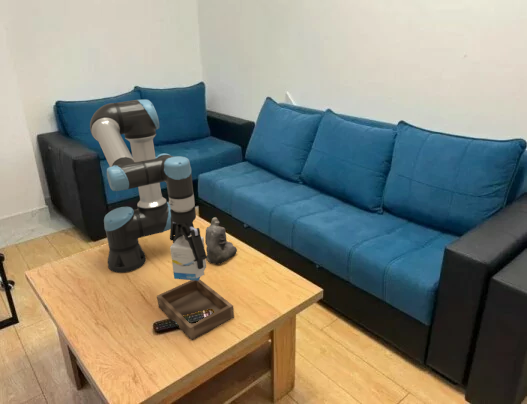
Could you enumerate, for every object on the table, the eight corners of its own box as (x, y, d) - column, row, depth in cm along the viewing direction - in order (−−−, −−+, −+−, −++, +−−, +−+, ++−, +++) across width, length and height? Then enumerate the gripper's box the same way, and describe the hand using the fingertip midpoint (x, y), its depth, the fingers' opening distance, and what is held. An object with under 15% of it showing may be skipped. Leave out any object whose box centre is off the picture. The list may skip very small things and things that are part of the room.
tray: (158, 307, 151) (156, 295, 149) (198, 288, 161) (197, 277, 159) (191, 340, 135) (190, 328, 133) (234, 317, 145) (233, 305, 143)
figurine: (235, 249, 186) (232, 211, 179) (240, 263, 176) (237, 223, 169) (204, 253, 184) (200, 215, 176) (208, 268, 173) (204, 228, 166)
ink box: (198, 281, 137) (194, 249, 132) (173, 279, 138) (168, 247, 134) (207, 266, 144) (204, 235, 140) (183, 264, 146) (179, 234, 141)
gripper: (153, 199, 138) (162, 258, 147) (192, 224, 121) (199, 288, 130) (174, 193, 142) (181, 250, 151) (214, 216, 125) (220, 279, 134)
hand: (190, 268), depth 141 cm, fingers closed on ink box, 11 cm apart
